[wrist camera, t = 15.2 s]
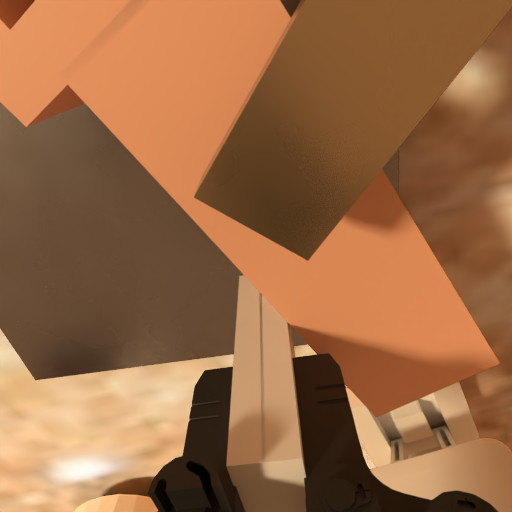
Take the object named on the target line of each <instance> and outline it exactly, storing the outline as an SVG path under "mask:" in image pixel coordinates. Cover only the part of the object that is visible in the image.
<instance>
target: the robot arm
mask: <svg viewBox="0 0 512 512" xmlns="http://www.w3.org/2000/svg"><path fill="white" fill-rule="evenodd" d="M189 418H190V422H189V423H188V429H187V435H186V440H185V446H184V452H183V456H181V457H178V458H175V459H174V460H172V461H171V462H169V463H168V464H166V465H165V466H163V468H162V469H161V470H160V471H159V473H158V474H157V475H156V476H155V477H154V479H153V481H152V484H151V486H150V489H149V491H148V494H149V496H150V497H151V499H152V501H153V503H154V504H155V506H156V508H157V509H158V511H157V512H498V511H497V510H496V509H495V508H494V507H493V506H492V505H491V504H490V503H488V502H487V501H485V500H483V499H481V498H480V497H478V496H476V495H474V494H471V493H467V492H463V491H458V490H456V491H449V492H443V493H441V494H440V495H438V496H437V497H435V498H434V499H433V500H429V499H425V498H421V497H417V496H413V495H409V494H405V493H402V492H399V491H396V490H393V489H391V488H390V487H388V486H386V485H385V484H383V483H382V482H380V481H379V480H378V479H377V478H376V477H375V476H374V475H373V474H372V472H371V471H370V469H369V468H368V466H367V464H366V462H365V459H364V457H363V453H362V449H361V446H360V442H359V438H358V434H357V430H356V426H355V422H354V418H353V414H352V411H351V407H350V403H349V400H348V395H347V391H346V387H345V383H344V379H343V376H342V372H341V368H340V366H339V365H338V363H337V362H336V361H335V360H334V359H333V358H332V356H331V355H330V354H329V353H326V354H318V355H311V356H303V357H295V352H294V344H293V336H292V329H291V325H290V324H289V323H288V322H287V321H286V320H285V319H284V318H283V317H282V316H281V314H280V313H279V312H278V311H277V310H276V309H275V308H274V307H273V306H272V305H271V304H270V303H269V301H268V300H267V299H266V298H265V297H264V296H263V295H262V294H261V293H260V292H259V291H258V290H257V288H256V287H255V286H254V285H253V284H252V283H251V282H250V281H249V280H248V279H247V278H246V277H245V276H244V275H243V276H239V288H238V303H237V317H236V332H235V347H234V361H233V367H227V368H220V369H212V370H205V371H204V372H203V374H202V376H201V377H200V379H199V380H198V382H197V384H196V385H195V389H194V394H193V400H192V407H191V412H190V417H189Z"/></svg>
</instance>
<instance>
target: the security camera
mask: <svg viewBox="0 0 512 512" xmlns="http://www.w3.org/2000/svg"><path fill="white" fill-rule="evenodd" d="M346 391H347V395H348V400H349V403H350V407H351V411H352V414H353V418H354V422H355V426H356V430H357V434H358V438H359V442H360V443H361V445H362V446H363V448H364V449H365V451H366V453H367V454H368V456H369V457H370V459H371V460H372V462H373V464H374V465H375V467H376V468H373V469H370V471H371V472H372V474H373V475H374V476H375V477H376V478H377V479H378V480H379V481H380V482H382V483H383V484H385V485H386V486H388V487H390V488H391V489H393V490H396V491H399V492H402V493H405V494H409V495H413V496H417V497H421V498H425V499H429V500H433V499H434V498H435V497H437V496H438V495H440V494H441V493H443V492H449V491H456V490H458V491H463V492H467V493H471V494H474V495H476V496H478V497H480V498H481V499H483V500H485V501H487V502H488V503H490V504H491V505H492V506H493V507H494V508H495V509H496V510H497V511H498V512H512V451H511V450H510V449H509V448H508V446H506V445H505V444H504V443H502V442H501V441H498V440H496V439H493V438H480V436H479V434H478V431H477V428H476V426H475V423H474V420H473V418H472V415H471V412H470V410H469V407H468V404H467V401H466V399H465V396H464V393H463V391H462V388H461V385H460V383H459V382H457V383H455V384H452V385H450V386H448V387H445V388H443V389H441V390H439V391H436V392H434V393H432V394H429V395H427V396H425V397H423V398H420V399H418V400H416V401H413V402H411V403H409V404H407V405H404V406H402V407H400V408H397V409H395V410H393V411H390V412H388V413H386V414H384V415H381V416H379V417H377V418H376V417H375V416H374V415H373V414H372V413H371V412H370V411H369V410H368V408H367V407H366V406H365V405H364V404H363V403H362V402H361V401H360V400H359V399H358V398H357V397H356V395H355V394H354V393H353V392H352V391H351V390H350V389H349V388H346Z"/></svg>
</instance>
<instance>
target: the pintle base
mask: <svg viewBox="0 0 512 512" xmlns="http://www.w3.org/2000/svg"><path fill="white" fill-rule="evenodd" d="M280 1H281V2H282V4H283V6H284V7H285V9H286V11H287V12H288V14H289V16H290V17H291V19H290V21H289V23H288V24H287V26H286V28H285V30H284V31H283V33H282V35H281V37H280V39H279V40H278V42H277V44H276V46H275V47H274V49H273V51H272V53H271V55H270V56H269V58H268V60H267V62H266V63H265V65H264V67H263V69H262V71H261V72H260V74H259V76H258V78H257V79H256V81H255V83H254V85H253V86H252V88H251V90H250V92H249V94H248V95H247V97H246V99H245V101H244V102H243V104H242V106H241V108H240V110H239V111H238V113H237V115H236V117H235V118H234V120H233V122H232V124H231V126H230V127H229V129H228V131H227V133H226V134H225V136H224V138H223V140H222V142H221V143H220V145H219V147H218V149H217V150H216V152H215V154H214V156H213V158H212V159H211V161H210V163H209V165H208V166H207V168H206V170H205V172H204V174H203V175H202V177H201V180H200V182H199V185H198V187H197V190H196V193H195V195H194V198H196V199H197V200H199V201H201V202H203V203H205V204H206V205H208V206H210V207H212V208H214V209H215V210H217V211H219V212H221V213H223V214H224V215H226V216H228V217H230V218H232V219H233V220H235V221H237V222H239V223H241V224H242V225H244V226H246V227H248V228H250V229H251V230H253V231H255V232H257V233H259V234H260V235H262V236H264V237H266V238H268V239H269V240H271V241H273V242H275V243H277V244H279V245H280V246H282V247H284V248H286V249H288V250H289V251H291V252H293V253H295V254H297V255H298V256H300V257H302V258H304V259H306V260H307V261H308V260H309V259H310V258H311V257H312V255H313V254H314V253H315V252H316V250H317V249H318V248H319V247H320V245H321V244H322V243H323V242H324V240H325V239H326V238H327V237H328V235H329V234H330V233H331V232H332V230H333V229H334V228H335V227H336V225H337V224H338V223H339V222H340V220H341V219H342V218H343V217H344V215H345V214H346V213H347V212H348V210H349V209H350V208H351V207H352V205H353V204H354V203H355V202H356V200H357V199H358V198H359V197H360V196H361V194H362V193H363V192H364V191H365V189H366V188H367V187H368V186H369V184H370V183H371V182H372V181H373V179H374V178H375V177H376V176H377V174H378V173H379V172H380V171H381V169H383V171H384V173H385V174H386V176H387V178H388V179H389V181H390V183H391V184H392V186H393V188H394V189H395V191H396V192H397V194H398V178H399V147H400V146H401V144H402V143H403V142H404V141H405V139H406V138H407V137H408V136H409V134H410V133H411V132H412V131H413V130H414V128H415V127H416V126H417V125H418V123H419V122H420V121H421V120H422V118H423V117H424V116H425V115H426V113H427V112H428V111H429V110H430V108H431V107H432V106H433V105H434V103H435V102H436V101H437V100H438V98H439V97H440V96H441V95H442V93H443V92H444V91H445V90H446V88H447V87H448V86H449V85H450V83H451V82H452V81H453V80H454V78H455V77H456V76H457V75H458V73H459V72H460V71H461V70H462V69H463V67H464V66H465V65H466V64H467V62H468V61H469V60H470V59H471V57H472V56H473V55H474V54H475V52H476V51H477V50H478V49H479V47H480V46H481V45H482V44H483V42H484V41H485V40H486V39H487V37H488V36H489V35H490V34H491V32H492V31H493V30H494V29H495V27H496V26H497V25H498V24H499V22H500V21H501V20H502V19H503V17H504V16H505V15H506V14H507V12H508V11H509V10H510V9H511V8H512V0H280ZM243 275H244V274H243V273H242V272H241V271H240V270H239V269H238V268H237V267H236V266H235V265H234V264H233V263H232V261H231V260H230V259H229V258H228V257H227V256H226V255H225V254H224V253H223V252H222V251H221V250H220V249H219V247H218V246H217V245H216V244H215V243H214V242H213V241H212V240H211V239H210V238H209V237H208V236H207V234H206V233H205V232H204V231H203V230H202V229H201V228H200V227H199V226H198V225H197V224H196V223H195V221H194V220H193V219H192V218H191V217H190V216H189V215H188V214H187V213H186V212H185V211H184V210H183V209H182V207H181V206H180V205H179V204H178V203H177V202H176V201H175V200H174V199H173V198H172V197H171V196H170V194H169V193H168V192H167V191H166V190H165V189H164V188H163V187H162V186H161V185H160V184H159V183H158V182H157V180H156V179H155V178H154V177H153V176H152V175H151V174H150V173H149V172H148V171H147V170H146V169H145V167H144V166H143V165H142V164H141V163H140V162H139V161H138V160H137V159H136V158H135V157H134V156H133V155H132V153H131V152H130V151H129V150H128V149H127V148H126V147H125V146H124V145H123V144H122V143H121V142H120V140H119V139H118V138H117V137H116V136H115V135H114V134H113V133H112V132H111V131H110V130H109V129H108V127H107V126H106V125H105V124H104V123H103V122H102V121H101V120H100V119H99V118H98V117H97V116H96V115H95V113H94V112H93V111H92V110H91V109H90V108H89V107H88V106H87V105H86V104H83V105H80V106H78V107H75V108H73V109H70V110H68V111H65V112H63V113H60V114H58V115H55V116H53V117H50V118H48V119H45V120H43V121H40V122H38V123H35V124H33V125H30V126H28V127H26V126H25V125H23V124H22V123H21V122H20V121H19V120H18V119H17V118H16V117H15V116H14V115H13V114H12V113H11V112H10V111H9V110H8V109H7V108H6V107H5V106H4V105H3V104H2V103H1V102H0V329H1V330H2V332H3V333H4V334H5V336H6V337H7V339H8V340H9V342H10V343H11V345H12V346H13V348H14V349H15V351H16V352H17V354H18V355H19V357H20V358H21V359H22V361H23V362H24V364H25V365H26V367H27V368H28V370H29V371H30V373H31V374H32V376H33V377H34V379H35V380H40V379H48V378H55V377H63V376H70V375H78V374H86V373H93V372H101V371H108V370H116V369H124V368H131V367H139V366H146V365H154V364H162V363H169V362H177V361H185V360H192V359H200V358H207V357H215V356H223V355H230V354H234V347H235V332H236V317H237V303H238V288H239V276H243ZM291 329H292V336H293V344H294V346H299V345H306V344H307V343H306V341H305V340H304V339H303V338H302V337H301V336H300V335H299V334H298V333H297V332H296V331H295V330H294V328H293V327H292V326H291Z"/></svg>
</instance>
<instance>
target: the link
mask: <svg viewBox="0 0 512 512" xmlns="http://www.w3.org/2000/svg"><path fill="white" fill-rule="evenodd" d="M290 19H291V17H290V16H289V14H288V12H287V11H286V9H285V7H284V6H283V4H282V2H281V1H280V0H0V102H1V103H2V104H3V105H4V106H5V107H6V108H7V109H8V110H9V111H10V112H11V113H12V114H13V115H14V116H15V117H16V118H17V119H18V120H19V121H20V122H21V123H22V124H23V125H25V126H26V127H28V126H30V125H33V124H35V123H38V122H40V121H43V120H45V119H48V118H50V117H53V116H55V115H58V114H60V113H63V112H65V111H68V110H70V109H73V108H75V107H78V106H80V105H83V104H86V105H87V106H88V107H89V108H90V109H91V110H92V111H93V112H94V113H95V115H96V116H97V117H98V118H99V119H100V120H101V121H102V122H103V123H104V124H105V125H106V126H107V127H108V129H109V130H110V131H111V132H112V133H113V134H114V135H115V136H116V137H117V138H118V139H119V140H120V142H121V143H122V144H123V145H124V146H125V147H126V148H127V149H128V150H129V151H130V152H131V153H132V155H133V156H134V157H135V158H136V159H137V160H138V161H139V162H140V163H141V164H142V165H143V166H144V167H145V169H146V170H147V171H148V172H149V173H150V174H151V175H152V176H153V177H154V178H155V179H156V180H157V182H158V183H159V184H160V185H161V186H162V187H163V188H164V189H165V190H166V191H167V192H168V193H169V194H170V196H171V197H172V198H173V199H174V200H175V201H176V202H177V203H178V204H179V205H180V206H181V207H182V209H183V210H184V211H185V212H186V213H187V214H188V215H189V216H190V217H191V218H192V219H193V220H194V221H195V223H196V224H197V225H198V226H199V227H200V228H201V229H202V230H203V231H204V232H205V233H206V234H207V236H208V237H209V238H210V239H211V240H212V241H213V242H214V243H215V244H216V245H217V246H218V247H219V249H220V250H221V251H222V252H223V253H224V254H225V255H226V256H227V257H228V258H229V259H230V260H231V261H232V263H233V264H234V265H235V266H236V267H237V268H238V269H239V270H240V271H241V272H242V273H243V274H244V276H245V277H246V278H247V279H248V280H249V281H250V282H251V283H252V284H253V285H254V286H255V287H256V288H257V290H258V291H259V292H260V293H261V294H262V295H263V296H264V297H265V298H266V299H267V300H268V301H269V303H270V304H271V305H272V306H273V307H274V308H275V309H276V310H277V311H278V312H279V313H280V314H281V316H282V317H283V318H284V319H285V320H286V321H287V322H288V323H289V324H290V325H291V326H292V327H293V328H294V330H295V331H296V332H297V333H298V334H299V335H300V336H301V337H302V338H303V339H304V340H305V341H306V343H307V344H308V345H309V346H310V347H311V348H312V349H313V350H314V351H315V352H316V353H317V354H326V353H329V354H330V355H331V356H332V358H333V359H334V360H335V361H336V362H337V363H338V365H339V366H340V368H341V372H342V376H343V379H344V383H345V385H346V386H347V387H348V388H349V389H350V390H351V391H352V392H353V393H354V394H355V395H356V397H357V398H358V399H359V400H360V401H361V402H362V403H363V404H364V405H365V406H366V407H367V408H368V410H369V411H370V412H371V413H372V414H373V415H374V416H375V417H376V418H377V417H379V416H381V415H384V414H386V413H388V412H390V411H393V410H395V409H397V408H400V407H402V406H404V405H407V404H409V403H411V402H413V401H416V400H418V399H420V398H423V397H425V396H427V395H429V394H432V393H434V392H436V391H439V390H441V389H443V388H445V387H448V386H450V385H452V384H455V383H457V382H459V381H462V380H464V379H466V378H468V377H471V376H473V375H475V374H478V373H480V372H482V371H484V370H487V369H489V368H491V367H494V366H496V365H498V364H500V363H499V361H498V359H497V358H496V356H495V354H494V353H493V351H492V349H491V348H490V346H489V344H488V343H487V341H486V340H485V338H484V336H483V335H482V333H481V331H480V330H479V328H478V326H477V325H476V323H475V321H474V320H473V318H472V316H471V315H470V313H469V311H468V310H467V308H466V306H465V305H464V303H463V302H462V300H461V298H460V297H459V295H458V293H457V292H456V290H455V288H454V287H453V285H452V283H451V282H450V280H449V278H448V277H447V275H446V273H445V272H444V270H443V268H442V267H441V265H440V264H439V262H438V260H437V259H436V257H435V255H434V254H433V252H432V250H431V249H430V247H429V245H428V244H427V242H426V240H425V239H424V237H423V235H422V234H421V232H420V230H419V229H418V227H417V226H416V224H415V222H414V221H413V219H412V217H411V216H410V214H409V212H408V211H407V209H406V207H405V206H404V204H403V202H402V201H401V199H400V197H399V196H398V194H397V192H396V191H395V189H394V188H393V186H392V184H391V183H390V181H389V179H388V178H387V176H386V174H385V173H384V171H383V169H381V171H380V172H379V173H378V174H377V176H376V177H375V178H374V179H373V181H372V182H371V183H370V184H369V186H368V187H367V188H366V189H365V191H364V192H363V193H362V194H361V196H360V197H359V198H358V199H357V200H356V202H355V203H354V204H353V205H352V207H351V208H350V209H349V210H348V212H347V213H346V214H345V215H344V217H343V218H342V219H341V220H340V222H339V223H338V224H337V225H336V227H335V228H334V229H333V230H332V232H331V233H330V234H329V235H328V237H327V238H326V239H325V240H324V242H323V243H322V244H321V245H320V247H319V248H318V249H317V250H316V252H315V253H314V254H313V255H312V257H311V258H310V259H309V260H308V261H307V260H306V259H304V258H302V257H300V256H298V255H297V254H295V253H293V252H291V251H289V250H288V249H286V248H284V247H282V246H280V245H279V244H277V243H275V242H273V241H271V240H269V239H268V238H266V237H264V236H262V235H260V234H259V233H257V232H255V231H253V230H251V229H250V228H248V227H246V226H244V225H242V224H241V223H239V222H237V221H235V220H233V219H232V218H230V217H228V216H226V215H224V214H223V213H221V212H219V211H217V210H215V209H214V208H212V207H210V206H208V205H206V204H205V203H203V202H201V201H199V200H197V199H196V198H194V195H195V193H196V190H197V187H198V185H199V182H200V180H201V177H202V175H203V174H204V172H205V170H206V168H207V166H208V165H209V163H210V161H211V159H212V158H213V156H214V154H215V152H216V150H217V149H218V147H219V145H220V143H221V142H222V140H223V138H224V136H225V134H226V133H227V131H228V129H229V127H230V126H231V124H232V122H233V120H234V118H235V117H236V115H237V113H238V111H239V110H240V108H241V106H242V104H243V102H244V101H245V99H246V97H247V95H248V94H249V92H250V90H251V88H252V86H253V85H254V83H255V81H256V79H257V78H258V76H259V74H260V72H261V71H262V69H263V67H264V65H265V63H266V62H267V60H268V58H269V56H270V55H271V53H272V51H273V49H274V47H275V46H276V44H277V42H278V40H279V39H280V37H281V35H282V33H283V31H284V30H285V28H286V26H287V24H288V23H289V21H290Z"/></svg>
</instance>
